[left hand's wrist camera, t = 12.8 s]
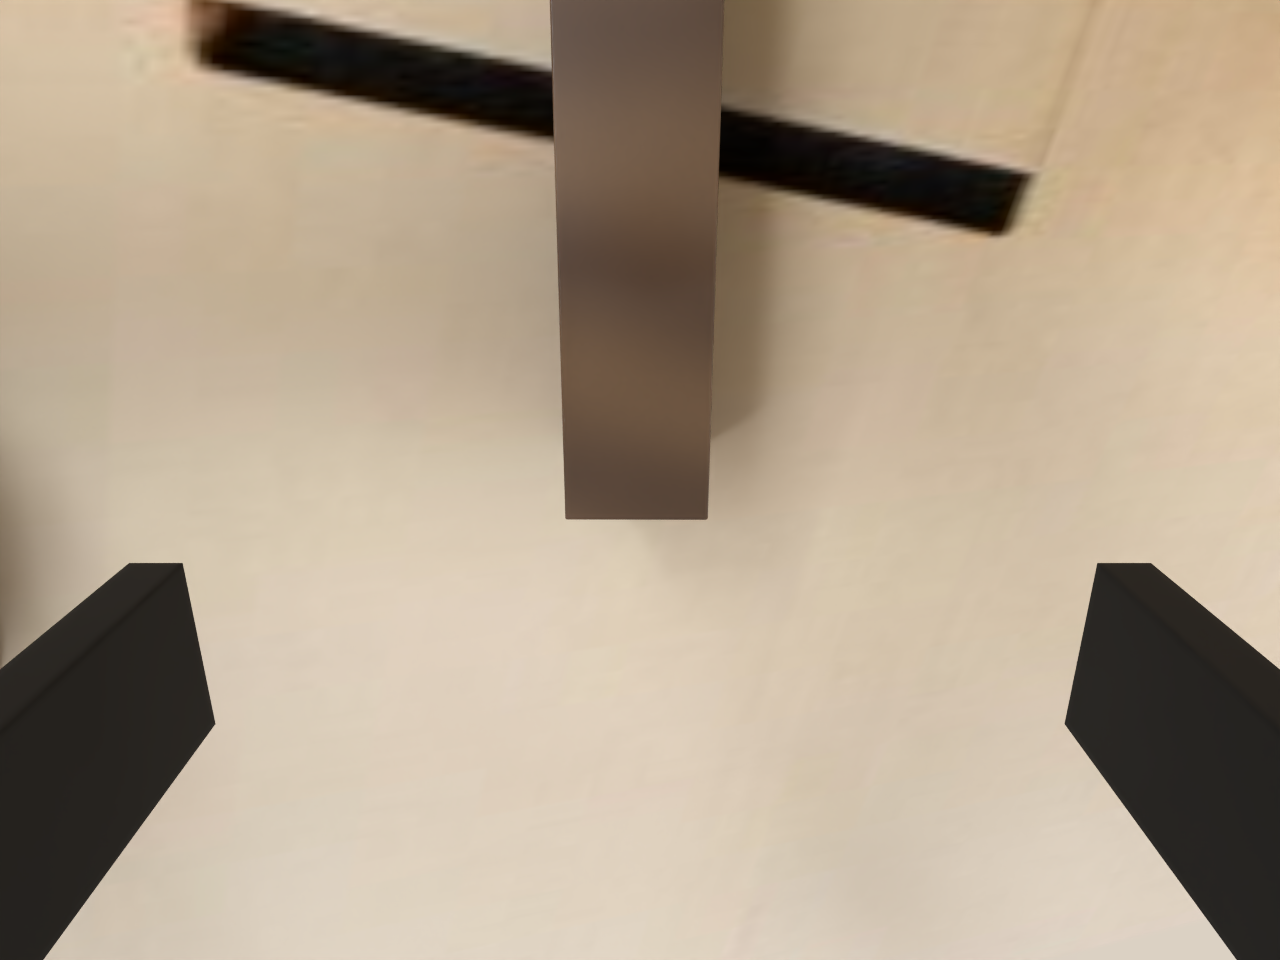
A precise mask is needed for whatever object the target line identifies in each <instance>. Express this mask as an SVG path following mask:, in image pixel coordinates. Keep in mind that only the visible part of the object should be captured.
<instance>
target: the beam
mask: <svg viewBox="0 0 1280 960" xmlns="http://www.w3.org/2000/svg"><path fill="white" fill-rule="evenodd" d="M550 21H551V54H552V87H553V120H554V154H555V187H556V220H557V253H558V286H559V320H560V353H561V386H562V419H563V452H564V486H565V518H566V519H665V520H706V519H707V518H708V494H709V463H710V432H711V400H712V369H713V338H714V307H715V275H716V244H717V213H718V182H719V151H720V119H721V88H722V57H723V26H724V0H550Z"/></svg>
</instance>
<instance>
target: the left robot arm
mask: <svg viewBox="0 0 1280 960" xmlns="http://www.w3.org/2000/svg"><path fill="white" fill-rule="evenodd" d="M214 725H215V720H214V715H213V710H212V705H211V700H210V695H209V691H208V686H207V681H206V676H205V671H204V666H203V661H202V656H201V651H200V646H199V641H198V637H197V632H196V627H195V622H194V617H193V612H192V607H191V602H190V597H189V592H188V588H187V583H186V578H185V573H184V568H183V563H129V564H128V565H126V566H125V567H124V568H123V569H122V570H120V571H119V572H118V573H117V574H115V575H114V576H113V577H112V578H111V579H109V580H108V581H107V582H106V583H105V584H103V585H102V586H101V587H100V588H98V589H97V590H96V591H95V592H94V593H92V594H91V595H90V596H89V597H88V598H86V599H85V600H84V601H83V602H82V603H80V604H79V605H78V606H77V607H75V608H74V609H73V610H72V611H71V612H69V613H68V614H67V615H66V616H65V617H63V618H62V619H61V620H60V621H58V622H57V623H56V624H55V625H54V626H52V627H51V628H50V629H49V630H48V631H46V632H45V633H44V634H43V635H41V636H40V637H39V638H38V639H37V640H35V641H34V642H33V643H32V644H31V645H29V646H28V647H27V648H26V649H25V650H23V651H22V652H21V653H20V654H18V655H17V656H16V657H15V658H14V659H12V660H11V661H10V662H9V663H8V664H6V665H5V666H4V667H3V668H1V669H0V960H43V959H44V958H45V957H46V955H47V954H48V953H49V951H50V950H51V948H52V947H53V946H54V944H55V943H56V942H57V940H58V939H59V938H60V936H61V935H62V933H63V932H64V931H65V929H66V928H67V927H68V925H69V924H70V922H71V921H72V920H73V918H74V917H75V916H76V914H77V913H78V911H79V910H80V909H81V907H82V906H83V905H84V903H85V902H86V900H87V899H88V898H89V896H90V895H91V894H92V892H93V891H94V890H95V888H96V887H97V885H98V884H99V883H100V881H101V880H102V879H103V877H104V876H105V874H106V873H107V872H108V870H109V869H110V868H111V866H112V865H113V863H114V862H115V861H116V859H117V858H118V857H119V855H120V854H121V853H122V851H123V850H124V848H125V847H126V846H127V844H128V843H129V842H130V840H131V839H132V837H133V836H134V835H135V833H136V832H137V831H138V829H139V828H140V826H141V825H142V824H143V822H144V821H145V820H146V818H147V817H148V816H149V814H150V813H151V811H152V810H153V809H154V807H155V806H156V805H157V803H158V802H159V800H160V799H161V798H162V796H163V795H164V794H165V792H166V791H167V789H168V788H169V787H170V785H171V784H172V783H173V781H174V780H175V779H176V777H177V776H178V774H179V773H180V772H181V770H182V769H183V768H184V766H185V765H186V763H187V762H188V761H189V759H190V758H191V757H192V755H193V754H194V752H195V751H196V750H197V748H198V747H199V746H200V744H201V743H202V742H203V740H204V739H205V737H206V736H207V735H208V733H209V732H210V731H211V729H212V728H213V726H214ZM1065 725H1066V726H1067V728H1068V729H1069V731H1070V732H1071V733H1072V735H1073V736H1074V737H1075V739H1076V740H1077V742H1078V743H1079V744H1080V746H1081V747H1082V748H1083V750H1084V751H1085V752H1086V754H1087V755H1088V757H1089V758H1090V759H1091V761H1092V762H1093V763H1094V765H1095V766H1096V768H1097V769H1098V770H1099V772H1100V773H1101V774H1102V776H1103V777H1104V779H1105V780H1106V781H1107V783H1108V784H1109V785H1110V787H1111V788H1112V789H1113V791H1114V792H1115V794H1116V795H1117V796H1118V798H1119V799H1120V800H1121V802H1122V803H1123V805H1124V806H1125V807H1126V809H1127V810H1128V811H1129V813H1130V814H1131V816H1132V817H1133V818H1134V820H1135V821H1136V822H1137V824H1138V825H1139V826H1140V828H1141V829H1142V831H1143V832H1144V833H1145V835H1146V836H1147V837H1148V839H1149V840H1150V842H1151V843H1152V844H1153V846H1154V847H1155V848H1156V850H1157V851H1158V853H1159V854H1160V855H1161V857H1162V858H1163V859H1164V861H1165V862H1166V863H1167V865H1168V866H1169V868H1170V869H1171V870H1172V872H1173V873H1174V874H1175V876H1176V877H1177V879H1178V880H1179V881H1180V883H1181V884H1182V885H1183V887H1184V888H1185V890H1186V891H1187V892H1188V894H1189V895H1190V896H1191V898H1192V899H1193V901H1194V902H1195V903H1196V905H1197V906H1198V907H1199V909H1200V910H1201V911H1202V913H1203V914H1204V916H1205V917H1206V918H1207V920H1208V921H1209V922H1210V924H1211V925H1212V926H1213V928H1214V929H1215V931H1216V932H1217V933H1218V935H1219V936H1220V937H1221V939H1222V940H1223V942H1224V943H1225V944H1226V946H1227V947H1228V948H1229V950H1230V951H1231V953H1232V954H1233V955H1234V957H1235V958H1236V959H1237V960H1280V669H1279V668H1277V667H1276V666H1275V665H1274V664H1272V663H1271V662H1270V661H1269V660H1268V659H1266V658H1265V657H1264V656H1263V655H1262V654H1260V653H1259V652H1258V651H1257V650H1255V649H1254V648H1253V647H1252V646H1251V645H1249V644H1248V643H1247V642H1246V641H1245V640H1243V639H1242V638H1241V637H1240V636H1239V635H1237V634H1236V633H1235V632H1234V631H1232V630H1231V629H1230V628H1229V627H1228V626H1226V625H1225V624H1224V623H1223V622H1222V621H1220V620H1219V619H1218V618H1217V617H1215V616H1214V615H1213V614H1212V613H1211V612H1209V611H1208V610H1207V609H1206V608H1205V607H1203V606H1202V605H1201V604H1200V603H1198V602H1197V601H1196V600H1195V599H1194V598H1192V597H1191V596H1190V595H1189V594H1188V593H1186V592H1185V591H1184V590H1183V589H1182V588H1180V587H1179V586H1178V585H1177V584H1175V583H1174V582H1173V581H1172V580H1171V579H1169V578H1168V577H1167V576H1166V575H1165V574H1163V573H1162V572H1161V571H1160V570H1158V569H1157V568H1156V567H1155V566H1154V565H1152V564H1151V563H1097V568H1096V573H1095V578H1094V583H1093V588H1092V592H1091V597H1090V602H1089V607H1088V612H1087V617H1086V622H1085V627H1084V632H1083V637H1082V641H1081V646H1080V651H1079V656H1078V661H1077V666H1076V671H1075V676H1074V681H1073V686H1072V691H1071V695H1070V700H1069V705H1068V710H1067V715H1066V720H1065Z"/></svg>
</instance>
